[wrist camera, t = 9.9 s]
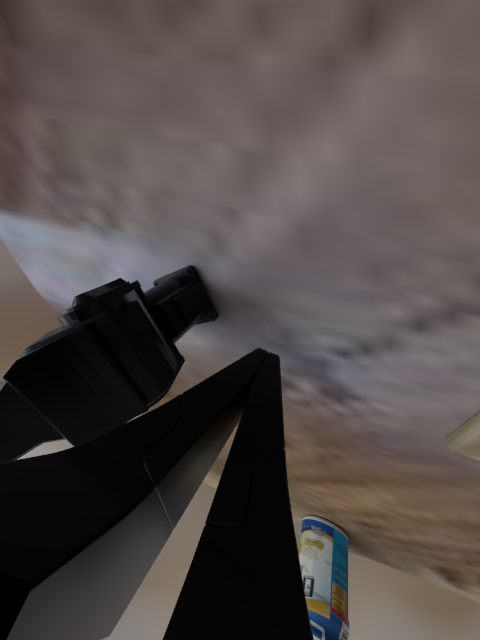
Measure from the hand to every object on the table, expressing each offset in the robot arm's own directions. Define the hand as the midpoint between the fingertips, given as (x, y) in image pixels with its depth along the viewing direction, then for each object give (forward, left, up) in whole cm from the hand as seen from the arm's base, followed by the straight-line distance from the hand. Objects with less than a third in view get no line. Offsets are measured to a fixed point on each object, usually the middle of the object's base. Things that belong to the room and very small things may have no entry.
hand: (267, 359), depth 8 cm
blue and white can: (-11, -51, -12) cm, 53 cm away
